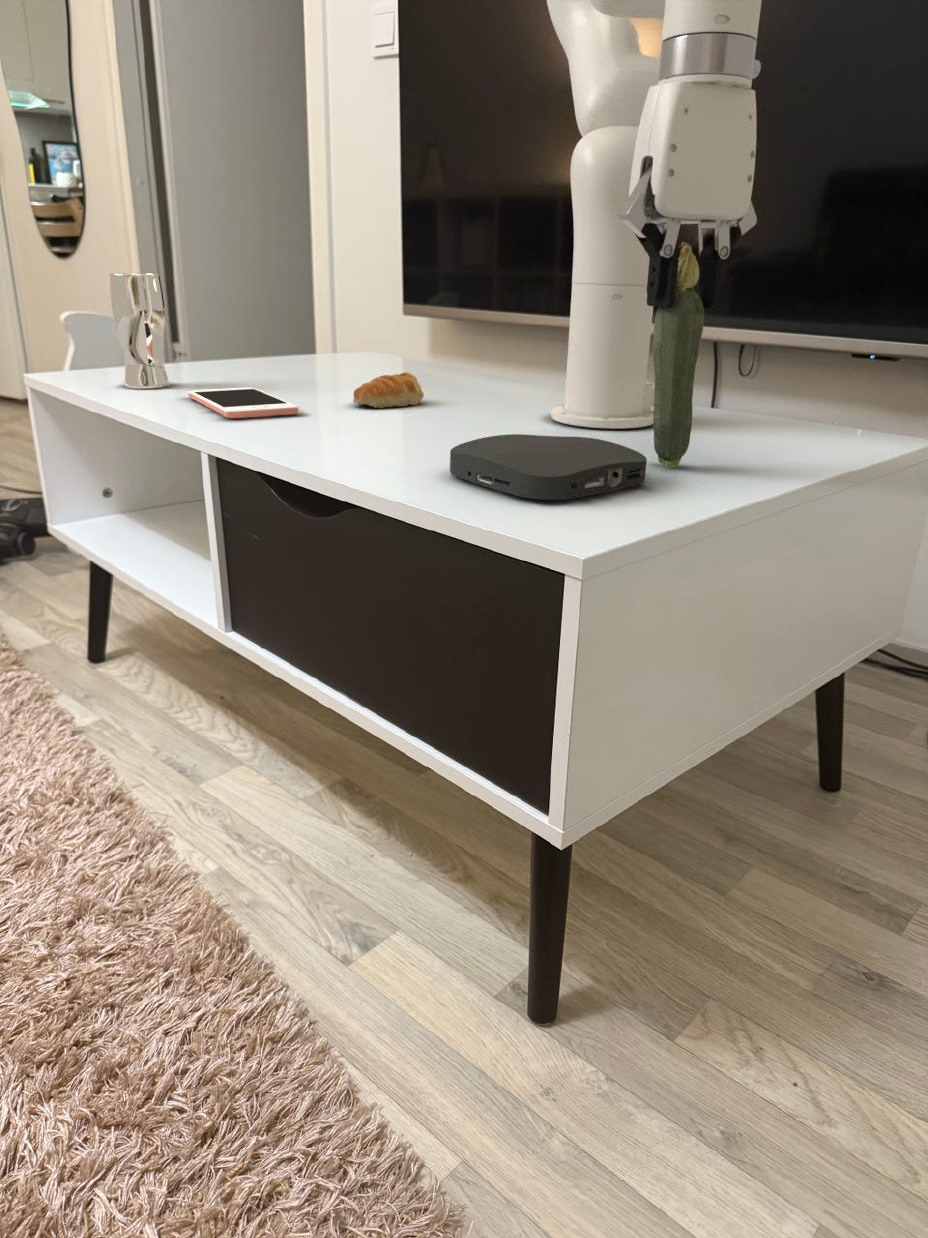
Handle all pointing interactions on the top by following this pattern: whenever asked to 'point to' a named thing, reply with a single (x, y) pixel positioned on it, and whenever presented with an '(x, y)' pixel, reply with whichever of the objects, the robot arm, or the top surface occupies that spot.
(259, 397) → the cell phone
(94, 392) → the top surface
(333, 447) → the top surface
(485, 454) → the media streaming box
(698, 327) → the vegetable
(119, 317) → the silver vase
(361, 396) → the pastry
